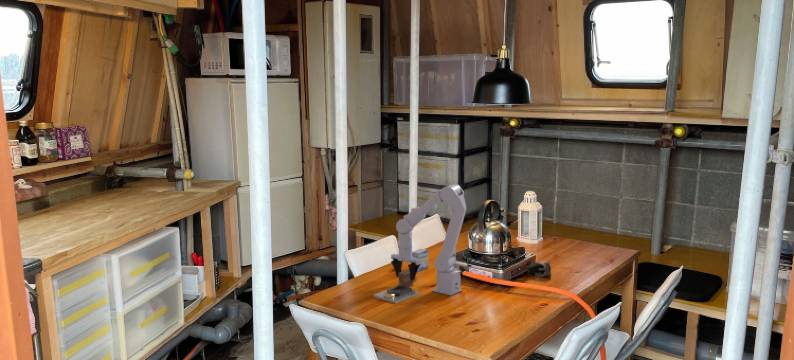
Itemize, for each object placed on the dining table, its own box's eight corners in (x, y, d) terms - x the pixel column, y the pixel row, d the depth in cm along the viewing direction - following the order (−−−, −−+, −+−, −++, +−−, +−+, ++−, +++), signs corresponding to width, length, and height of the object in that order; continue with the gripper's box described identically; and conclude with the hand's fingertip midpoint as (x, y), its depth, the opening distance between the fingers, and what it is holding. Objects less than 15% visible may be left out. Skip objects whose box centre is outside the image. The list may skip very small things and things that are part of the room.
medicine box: (418, 272, 278) (418, 253, 277) (410, 270, 281) (410, 252, 280) (428, 267, 284) (428, 249, 283) (420, 266, 287) (420, 248, 286)
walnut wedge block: (413, 285, 259) (412, 271, 258) (405, 288, 255) (405, 274, 254) (406, 283, 261) (406, 270, 261) (398, 286, 258) (398, 273, 257)
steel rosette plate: (418, 294, 248) (418, 288, 247) (396, 303, 237) (396, 298, 237) (396, 288, 255) (396, 283, 255) (373, 297, 245) (373, 291, 245)
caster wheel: (528, 276, 277) (551, 274, 275) (529, 279, 266) (552, 276, 264) (526, 262, 277) (548, 259, 276) (527, 263, 266) (550, 260, 265)
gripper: (386, 246, 258) (386, 277, 260) (412, 251, 248) (412, 283, 250) (397, 242, 263) (397, 273, 265) (423, 248, 254) (423, 279, 256)
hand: (405, 278), depth 258 cm, fingers open, 7 cm apart
